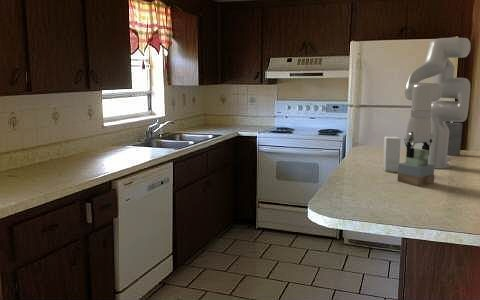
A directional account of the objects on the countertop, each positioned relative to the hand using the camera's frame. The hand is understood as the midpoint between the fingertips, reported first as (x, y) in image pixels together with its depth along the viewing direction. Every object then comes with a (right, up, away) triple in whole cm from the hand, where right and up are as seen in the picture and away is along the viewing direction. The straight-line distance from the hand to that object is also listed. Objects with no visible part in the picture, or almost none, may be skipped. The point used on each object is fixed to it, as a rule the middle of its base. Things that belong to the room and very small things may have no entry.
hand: (417, 156), depth 185 cm
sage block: (0, -3, +1) cm, 3 cm away
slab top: (0, -7, +1) cm, 7 cm away
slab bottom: (0, -11, +2) cm, 11 cm away
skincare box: (-3, -7, +24) cm, 25 cm away
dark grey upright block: (+41, 0, +65) cm, 77 cm away
